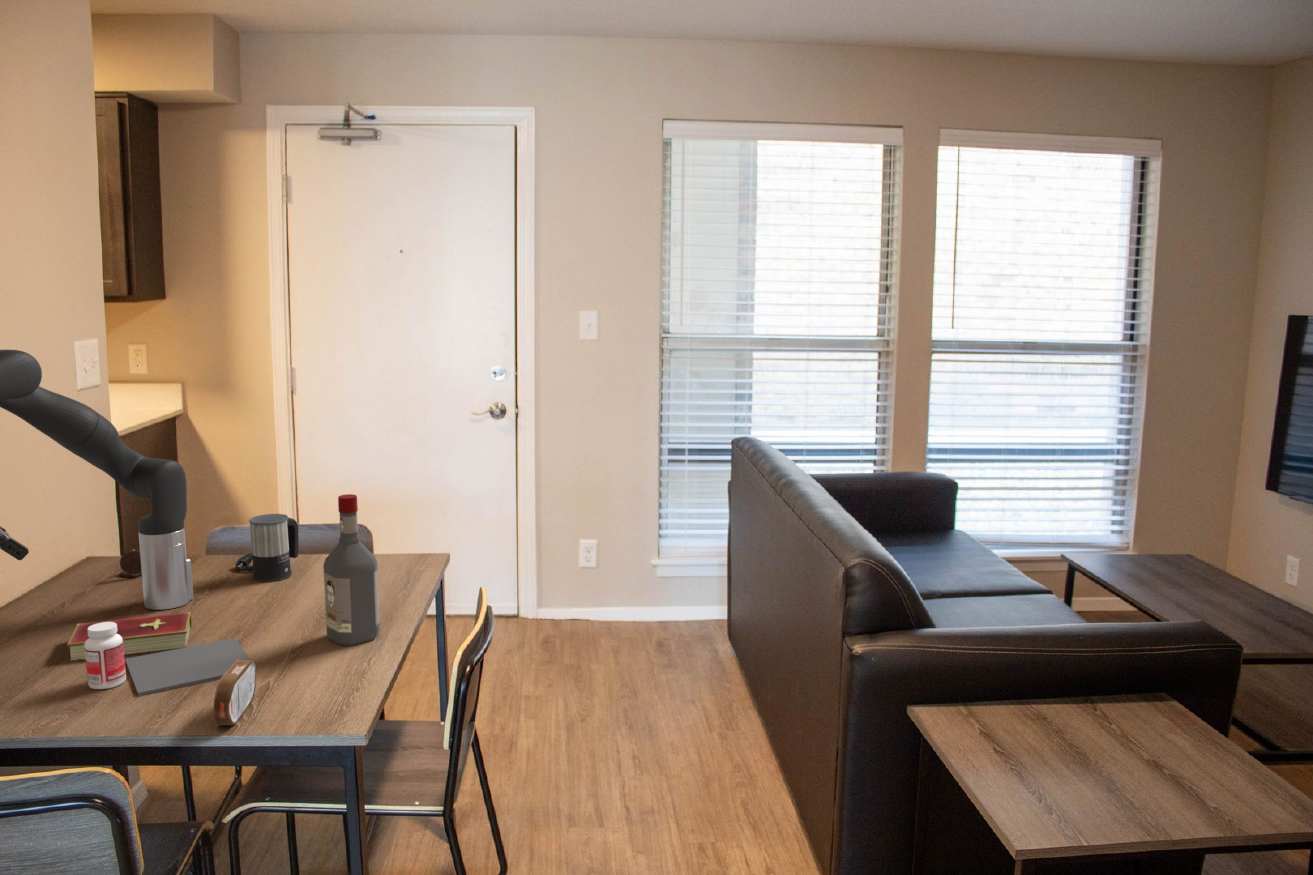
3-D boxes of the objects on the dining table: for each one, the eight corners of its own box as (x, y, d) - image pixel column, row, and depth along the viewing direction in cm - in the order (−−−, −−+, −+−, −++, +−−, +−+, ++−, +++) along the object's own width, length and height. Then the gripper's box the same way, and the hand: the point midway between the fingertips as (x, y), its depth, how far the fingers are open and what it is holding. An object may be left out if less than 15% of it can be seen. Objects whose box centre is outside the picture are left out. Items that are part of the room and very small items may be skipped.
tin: (242, 695, 177) (239, 651, 176) (260, 694, 177) (258, 650, 176) (212, 735, 162) (209, 687, 161) (232, 734, 162) (229, 686, 161)
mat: (138, 695, 176) (138, 692, 176) (125, 661, 191) (125, 658, 190) (256, 671, 187) (255, 668, 187) (235, 640, 202) (235, 637, 202)
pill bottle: (128, 674, 185) (124, 618, 183) (123, 687, 179) (118, 630, 177) (91, 678, 183) (86, 622, 181) (85, 692, 177) (79, 634, 175)
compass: (148, 568, 247) (145, 540, 246) (149, 577, 241) (147, 548, 239) (111, 573, 243) (109, 544, 242) (112, 582, 237) (109, 553, 235)
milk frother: (282, 582, 238) (279, 523, 235) (218, 581, 238) (214, 522, 236) (305, 565, 252) (302, 508, 249) (243, 563, 252) (240, 507, 250)
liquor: (363, 625, 211) (357, 489, 206) (384, 637, 205) (379, 496, 199) (322, 636, 205) (315, 495, 199) (343, 648, 198) (337, 504, 193)
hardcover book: (79, 641, 201) (77, 621, 201) (192, 628, 209) (190, 610, 208) (68, 663, 190) (66, 643, 190) (188, 649, 198) (186, 629, 197)
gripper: (-53, 485, 159) (43, 547, 168) (-52, 470, 170) (39, 529, 179) (-90, 522, 157) (9, 582, 166) (-86, 504, 167) (7, 562, 176)
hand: (24, 555), depth 172 cm, fingers closed
